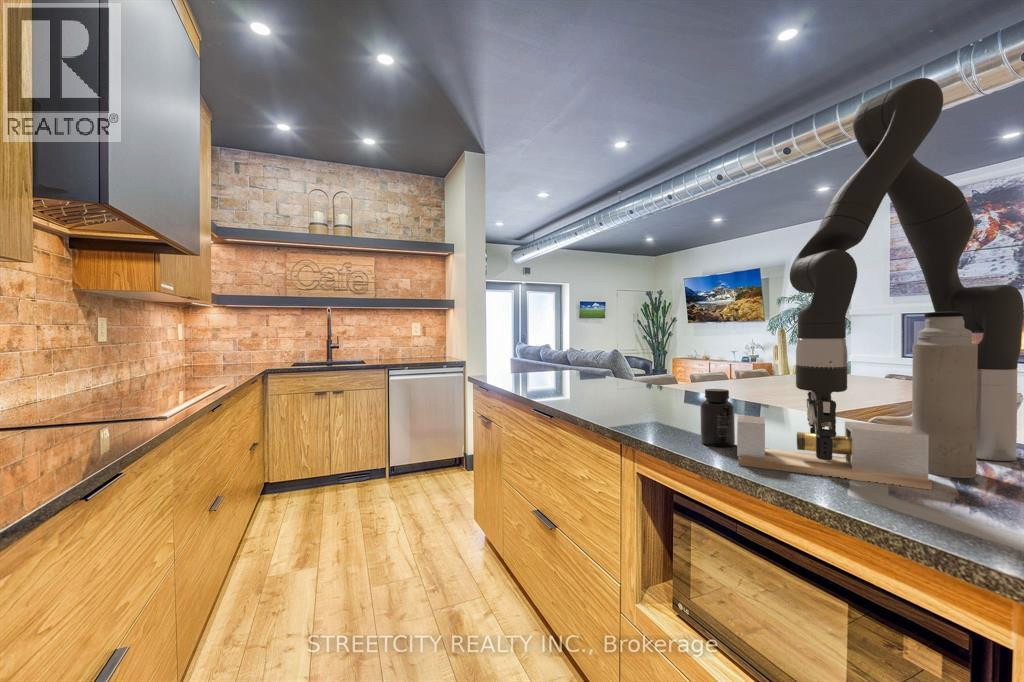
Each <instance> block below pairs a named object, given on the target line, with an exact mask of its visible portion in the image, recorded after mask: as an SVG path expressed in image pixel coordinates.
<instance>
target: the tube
mask: <svg viewBox="0 0 1024 682" xmlns="http://www.w3.org/2000/svg"><path fill="white" fill-rule="evenodd" d="M796 450H797V451H798V450H799V451H807V452H815V453H816V435H815V434H813V433H810V432H801V431H800V432H799V431H797V432H796ZM833 454H835V455H843V456H845V455H851V437H847V436H845V435H836V437H834V439H832V455H833Z"/></svg>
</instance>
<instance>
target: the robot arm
mask: <svg viewBox="0 0 1024 682" xmlns="http://www.w3.org/2000/svg"><path fill="white" fill-rule="evenodd" d="M943 107H944V94H943V91H942V89H941V86H940V85H939V84H938V83H937V82H936V81H935V80H933V79H931V78H928V77H920V78H915V79H911V80H909V81H907V82H906V81H905V82H903V83H902V84H900V85H897V86H895V87H892V88H891V89H889V90H887V91H885V92H882V93H880V94H878V95H876V96H874V97H871V98H869V99H868V100H865V101H864V102H862V103H861V104H860V105H859V106H858V107H857V108H856V110H855V111H854V114H853V116H852V131H853V133H854V137H855V139H856V142H857V143H858V145H859V147H860V149H861V150H862V152H863V154H864V155H865V157H866V160H865V161H864V162H863V164H862V165H861V166H859V168H858V169H857V170H855V172H854V173H853V174H852V175H851V176H850V177H849V178H848V179H847V180H846V182H845V183H844V184H843V185H842V186H841V187H840V189H838V191H837V192H836V194H835V195H834V196H833V198H832V200H831V202H830V204H829V205H828V208H827V209H826V212H825V214H824V216H823V218H822V220H821V222H820V224H819V227H818V228H817V230H816V231H815V232H814V234H813V235H811V237H810V238H809V240H807V242H806V243H805V244H804V246H803V247H802V248H801V250H800V251H799V252H798V254H797V255H796V257H795V259H794V260H793V262H792V264H791V267H790V271H789V281H790V284H791V287H792V288H793V289H794V290H796V291H797V292H799V293H802V294H813V295H812V299H811V302H810V303H809V304H807V306H805V307H803V308H801V309H800V310H799V312H798V314H797V315H798V316H797V343H796V348H795V387H796V388H797V389H799V390H802V391H808V392H807V398H806V401H805V402H806V408H807V409H806V415H807V416H806V417H807V422H808V423H807V424H808V426H809V427H810V428H809V433H813V434H815V435H816V452H815V454H816V457H817V458H818V459H822V460H831V459H832V456H833V453H832V439H834V437H836V436H837V432H836V431H837V430H836V429H837V428H836V427H837V425H836V423H837V416H836V414H837V413H836V411H837V403H836V402H837V401H835V400H833V399H832V394H833V393H843V392H846V391H847V389H848V346H847V339H846V337H847V330H846V329H847V328H846V327H847V322H846V315H847V312H848V310H849V308H850V304H851V300H852V297H853V294H854V291H855V287H856V284H857V280H858V267H857V266H858V265H857V264H856V261H855V259H854V257H853V256H852V255H851V253H849V252H847V251H848V250H849V249H852V248H853V247H855V246H857V245H858V244H860V243H861V242H862V241H863V240H864V237H865V236H866V234H867V231H869V227H871V224H872V222H873V219H874V218H875V216H876V215H877V212H878V210H879V208H880V206H881V204H882V202H883V200H884V198H885V197H886V195H887V196H888V197H889V200H890V201H891V204H892V206H893V209H894V210H895V213H896V216H897V218H898V221H899V223H900V226H901V227H902V230H903V232H904V234H905V237H906V239H907V241H908V243H909V245H910V246H911V249H912V250H913V252H914V255H915V258H916V260H917V262H918V265H919V267H920V269H921V272H922V275H923V277H924V280H925V283H926V287H927V290H928V293H929V297H930V301H931V304H932V307H933V312H964V316H962V317H963V320H964V327H965V328H966V329H968V330H970V331H972V334H982V339H981V340H980V341H979V342H978V343H976V344H977V345H978V360H977V405H976V422H977V446H976V459H978V460H988V461H997V462H1012V461H1016V460H1017V443H1018V442H1017V441H1018V440H1017V438H1018V434H1017V433H1018V432H1017V431H1018V361H1019V357H1020V355H1021V348H1022V335H1023V334H1022V333H1023V326H1024V325H1023V324H1024V298H1023V295H1022V293H1021V292H1020V290H1019V289H1018V288H1017V287H1015V286H1014V285H1010V284H993V285H982V286H971V287H970V286H969V287H967V286H966V287H965V286H964V285H963V284H962V282H961V279H960V276H959V271H958V267H959V262H960V260H961V258H962V254H963V253H964V251H965V249H966V247H967V245H968V244H969V241H970V239H971V237H972V234H973V232H974V228H975V220H974V217H973V214H972V211H971V209H970V206H969V204H968V201H967V199H966V197H965V195H964V193H963V192H962V190H961V189H960V187H959V186H957V185H956V184H955V183H954V182H952V181H951V180H950V179H947V178H946V177H945V176H942V174H939V173H937V172H936V171H934V170H932V169H931V168H929V167H928V166H926V165H924V164H923V163H921V162H920V161H919V160H918V158H916V157H915V156H914V154H915V153H916V151H917V150H918V149H919V147H920V146H921V144H922V143H923V142H924V141H925V139H926V137H927V136H928V135H929V134H930V132H931V131H932V129H933V128H934V127H935V125H936V123H937V121H938V120H939V117H940V116H941V113H942V110H943ZM826 428H827V429H826Z"/></svg>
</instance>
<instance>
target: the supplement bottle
mask: <svg viewBox="0 0 1024 682" xmlns="http://www.w3.org/2000/svg"><path fill="white" fill-rule="evenodd" d="M704 398H705V400H703V401H702V402H701V404H700V406H699V407H700V441H701V443H702V444H703V445H707V446H710V447H715V448H716V447H718V448H728V447H733V446H734V445H735V443H736V433H735V432H736V431H735V429H736V427H735V426H736V425H735V406H734V404H733V403H732V402H730V401H729V399H730V391H729V389H723V388H705V389H704Z"/></svg>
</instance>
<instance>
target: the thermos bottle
mask: <svg viewBox="0 0 1024 682" xmlns="http://www.w3.org/2000/svg"><path fill="white" fill-rule="evenodd" d="M962 316H964V312H935V311H931V312H925V313H924V318H925V321H924V328H923V329H920V330H919V331H917V334H918V335H917V337H916V339H917V342H915V343H913V344H912V377H911V378H912V379H911V380H912V385H911V386H912V387H911V389H912V390H911V391H912V395H911V396H912V398H911V400H912V401H911V404H912V407H911V416H912V417H911V421H912V423H911V426H912V427H916V428H918V429H919V430H921V431H923V432H925V433H926V434H928V435H929V440H928V474H932V475H937V476H941V477H948V478H957V479H973V478H975V477H976V476H977V458H976V446H977V422H976V405H977V360H978V345H977V344H978V343H975V342H972V341H973V337H974V336H973V333H972V331H970V330H968V329H966V328H965V327H964V320H963V317H962Z"/></svg>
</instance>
